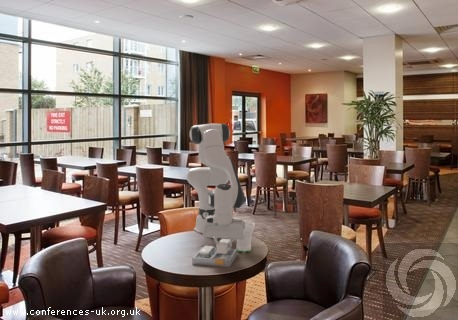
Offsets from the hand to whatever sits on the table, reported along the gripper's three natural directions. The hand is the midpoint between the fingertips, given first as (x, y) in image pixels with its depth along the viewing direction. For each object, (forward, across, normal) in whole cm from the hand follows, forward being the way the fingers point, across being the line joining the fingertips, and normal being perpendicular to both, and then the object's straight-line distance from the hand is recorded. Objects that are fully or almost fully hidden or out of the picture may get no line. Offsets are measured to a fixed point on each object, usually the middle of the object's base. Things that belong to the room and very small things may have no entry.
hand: (223, 246), depth 192 cm
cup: (+7, -7, -16) cm, 18 cm away
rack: (+7, +4, 0) cm, 8 cm away
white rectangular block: (+2, 0, 0) cm, 2 cm away
